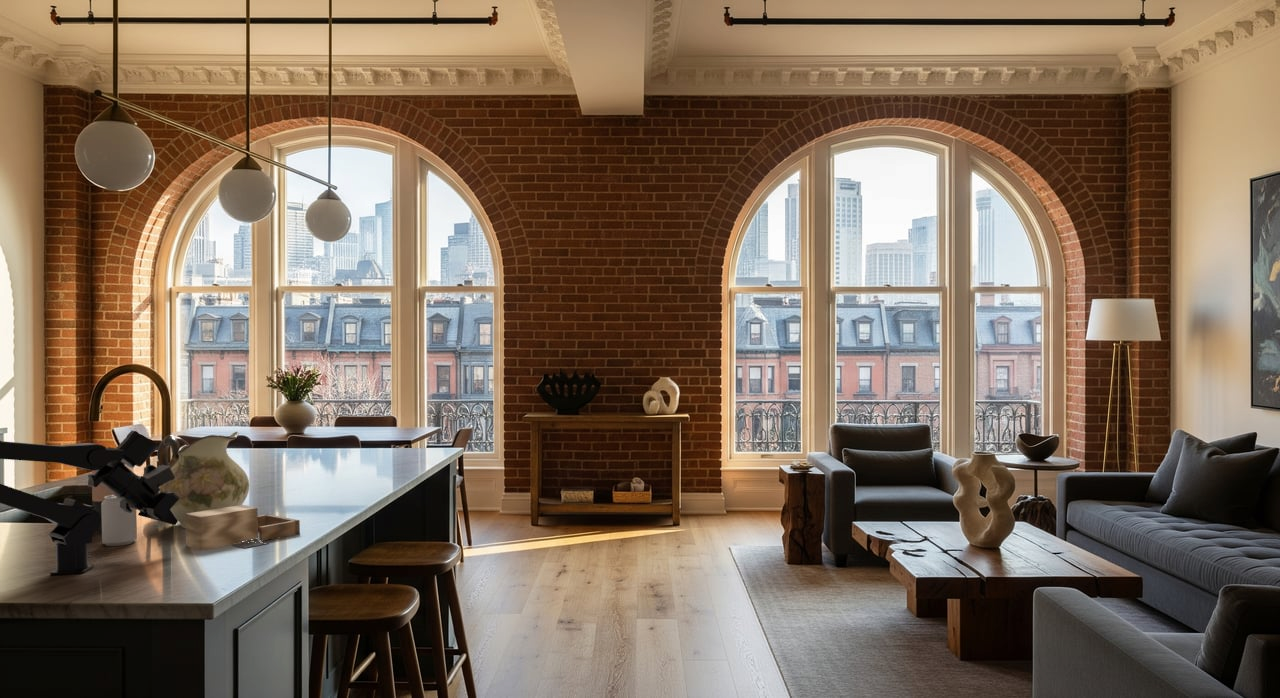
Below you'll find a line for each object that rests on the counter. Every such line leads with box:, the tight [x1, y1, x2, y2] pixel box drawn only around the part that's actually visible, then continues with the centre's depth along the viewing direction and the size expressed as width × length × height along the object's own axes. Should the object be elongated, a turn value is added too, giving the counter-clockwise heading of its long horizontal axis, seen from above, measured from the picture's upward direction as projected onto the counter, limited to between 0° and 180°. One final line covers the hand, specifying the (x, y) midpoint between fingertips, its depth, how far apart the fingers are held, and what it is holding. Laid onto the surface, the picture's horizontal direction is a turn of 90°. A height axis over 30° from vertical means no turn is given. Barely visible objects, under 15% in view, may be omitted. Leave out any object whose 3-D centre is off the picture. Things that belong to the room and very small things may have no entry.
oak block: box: [185, 504, 259, 551], centre depth 217 cm, size 14×8×8 cm, turn 142°
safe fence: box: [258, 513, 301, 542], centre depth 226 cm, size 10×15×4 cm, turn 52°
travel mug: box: [91, 461, 126, 535], centre depth 233 cm, size 8×8×20 cm
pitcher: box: [156, 431, 250, 529], centre depth 241 cm, size 22×24×25 cm
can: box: [101, 495, 138, 547], centre depth 218 cm, size 8×8×12 cm
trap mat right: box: [231, 539, 267, 549], centre depth 214 cm, size 6×6×1 cm
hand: (175, 523), depth 208 cm, fingers closed
